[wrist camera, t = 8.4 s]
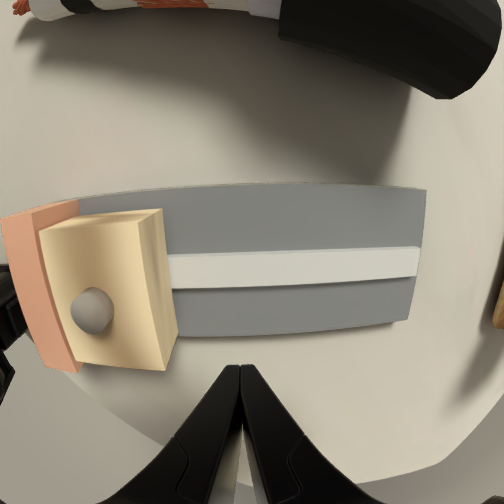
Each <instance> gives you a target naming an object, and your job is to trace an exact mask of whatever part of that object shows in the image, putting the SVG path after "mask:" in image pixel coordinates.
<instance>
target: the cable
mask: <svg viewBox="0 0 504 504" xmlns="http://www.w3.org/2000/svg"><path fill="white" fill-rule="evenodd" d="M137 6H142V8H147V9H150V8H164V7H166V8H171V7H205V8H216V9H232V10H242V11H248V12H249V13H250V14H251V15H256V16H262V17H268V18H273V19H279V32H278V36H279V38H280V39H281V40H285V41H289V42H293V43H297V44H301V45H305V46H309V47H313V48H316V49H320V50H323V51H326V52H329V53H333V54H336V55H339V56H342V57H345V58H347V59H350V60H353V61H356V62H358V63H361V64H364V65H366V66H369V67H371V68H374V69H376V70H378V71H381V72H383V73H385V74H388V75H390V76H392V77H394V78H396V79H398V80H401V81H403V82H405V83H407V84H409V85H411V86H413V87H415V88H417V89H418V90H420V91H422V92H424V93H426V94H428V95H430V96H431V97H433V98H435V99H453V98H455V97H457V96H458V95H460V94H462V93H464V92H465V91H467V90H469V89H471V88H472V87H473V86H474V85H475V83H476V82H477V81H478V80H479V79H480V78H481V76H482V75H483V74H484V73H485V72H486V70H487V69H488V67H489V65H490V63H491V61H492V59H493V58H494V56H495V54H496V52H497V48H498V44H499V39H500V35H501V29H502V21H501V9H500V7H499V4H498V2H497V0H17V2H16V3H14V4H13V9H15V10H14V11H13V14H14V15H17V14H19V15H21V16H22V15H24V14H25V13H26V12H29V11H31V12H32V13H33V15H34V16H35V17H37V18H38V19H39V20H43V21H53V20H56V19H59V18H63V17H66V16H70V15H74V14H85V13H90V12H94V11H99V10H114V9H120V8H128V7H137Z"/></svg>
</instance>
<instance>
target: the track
mask: <svg viewBox="0 0 504 504" xmlns="http://www.w3.org/2000/svg"><path fill="white" fill-rule="evenodd" d="M425 206H426V190H423V189H418V188H411V187H398V186H384V185H366V184H342V183H242V184H217V185H199V186H184V187H170V188H158V189H147V190H137V191H128V192H119V193H111V194H103V195H95V196H88V197H81V198H74V199H68V200H61V201H58V202H54V203H50V204H46V205H42V206H39V207H36V208H32V209H29V210H26V211H23V212H19V213H16V214H13V215H10V216H7V217H4V218H1V219H0V221H1V228H2V234H3V240H4V245H5V250H6V255H7V259H8V263H9V268H10V272H11V275H12V279H13V283H14V286H15V290H16V293H17V296H18V300H19V303H20V306H21V309H22V312H23V315H24V317H25V320H26V323H27V326H28V328H29V331H30V333H31V336H32V338H33V341H34V343H35V346H36V348H37V350H38V352H39V355H40V357H41V359H42V361H43V363H44V365H45V367H49V368H54V369H58V370H63V371H67V372H72V373H78V372H79V370H80V369H81V367H82V366H83V364H84V363H85V362H79V361H76V360H75V357H74V355H73V353H72V350H71V347H70V345H69V342H68V340H67V337H66V334H65V332H64V329H63V326H62V323H61V320H60V317H59V314H58V311H57V308H56V304H55V301H54V298H53V294H52V290H51V287H50V283H49V279H48V275H47V271H46V267H45V262H44V258H43V253H42V248H41V242H40V237H39V231H41V230H43V229H46V228H48V227H50V226H53V225H55V224H58V223H60V222H63V221H65V220H68V219H71V218H73V217H76V216H83V215H93V214H102V213H113V212H123V211H135V210H147V209H161V208H162V209H163V221H164V231H165V241H166V250H167V259H168V267H169V274H170V282H171V289H172V296H173V302H174V308H175V315H176V321H177V326H178V334H177V336H190V337H212V336H253V335H273V334H289V333H303V332H314V331H325V330H335V329H344V328H353V327H361V326H368V325H376V324H383V323H389V322H396V321H402V320H407V319H408V315H409V311H410V306H411V302H412V297H413V292H414V287H415V282H416V277H417V271H418V265H419V259H420V252H421V245H422V237H423V228H424V218H425Z"/></svg>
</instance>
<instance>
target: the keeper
mask: <svg viewBox="0 0 504 504" xmlns="http://www.w3.org/2000/svg"><path fill="white" fill-rule="evenodd" d="M39 237H40V242H41V248H42V253H43V258H44V262H45V267H46V271H47V275H48V279H49V283H50V287H51V290H52V294H53V298H54V301H55V304H56V308H57V311H58V314H59V317H60V320H61V323H62V326H63V329H64V332H65V334H66V337H67V340H68V342H69V345H70V347H71V350H72V353H73V355H74V357H75V360H76V361H79V362H86V363H92V364H99V365H107V366H115V367H124V368H134V369H146V370H160V371H165V370H166V367H167V364H168V361H169V358H170V355H171V352H172V349H173V346H174V343H175V340H176V337H177V334H178V326H177V321H176V315H175V308H174V302H173V296H172V289H171V282H170V274H169V267H168V259H167V250H166V241H165V231H164V221H163V209H162V208H161V209H147V210H135V211H123V212H113V213H102V214H93V215H83V216H76V217H73V218H71V219H68V220H65V221H63V222H60V223H58V224H55V225H53V226H50V227H48V228H46V229H43V230H41V231H39Z"/></svg>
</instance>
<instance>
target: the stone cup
mask: <svg viewBox="0 0 504 504" xmlns="http://www.w3.org/2000/svg"><path fill="white" fill-rule="evenodd" d="M492 324H493V325H494V327H496V328H499V329H504V281H503V284H502V287H501V290H500V294H499V297H498V300H497V304H496V307H495V310H494V313H493V318H492Z"/></svg>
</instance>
